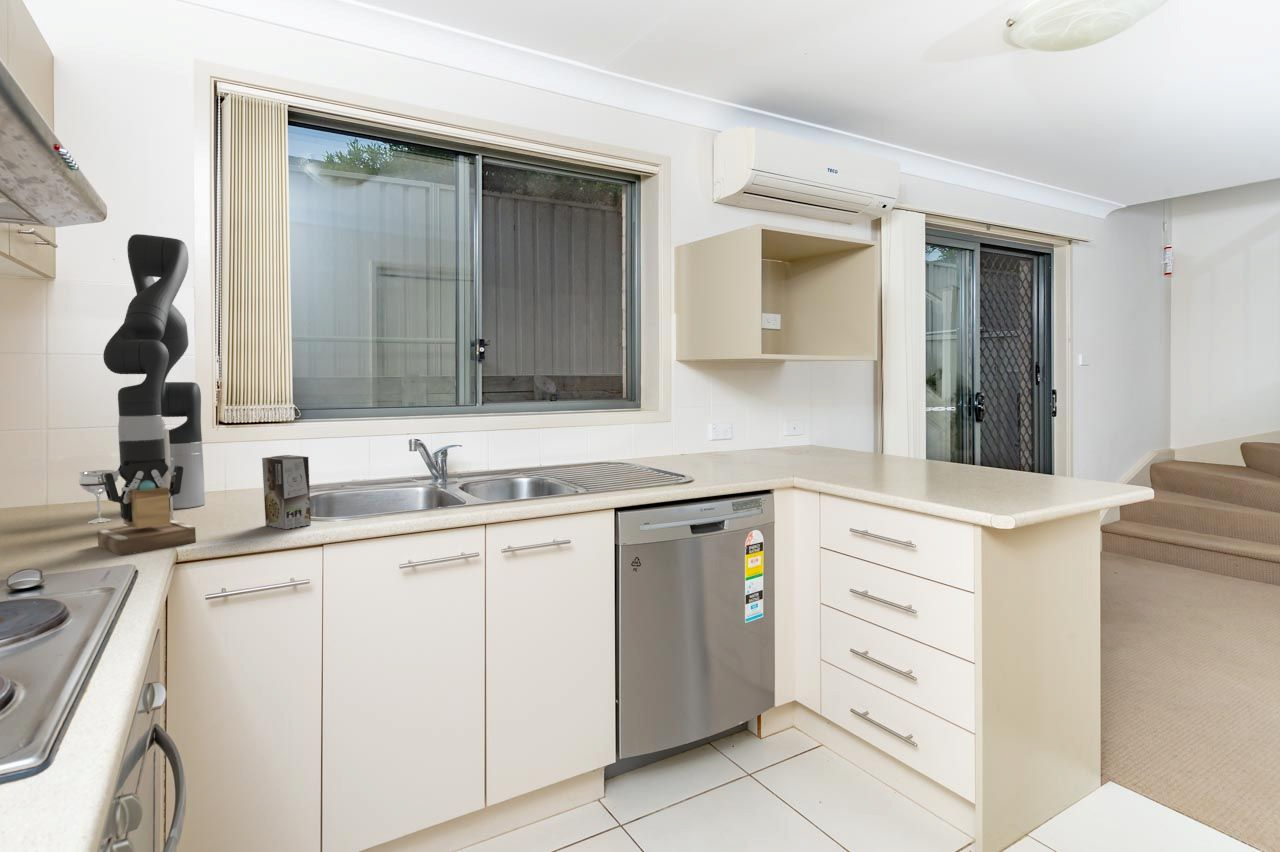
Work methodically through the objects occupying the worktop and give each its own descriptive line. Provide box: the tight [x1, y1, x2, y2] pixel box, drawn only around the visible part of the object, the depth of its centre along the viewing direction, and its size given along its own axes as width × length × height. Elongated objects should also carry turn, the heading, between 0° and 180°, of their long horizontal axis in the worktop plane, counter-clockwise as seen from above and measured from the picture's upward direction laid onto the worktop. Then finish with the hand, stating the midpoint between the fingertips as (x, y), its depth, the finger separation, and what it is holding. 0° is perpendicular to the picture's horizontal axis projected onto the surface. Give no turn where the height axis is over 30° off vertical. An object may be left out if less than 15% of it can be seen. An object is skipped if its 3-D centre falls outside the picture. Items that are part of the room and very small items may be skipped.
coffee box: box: [261, 454, 312, 530], centre depth 157 cm, size 9×6×16 cm
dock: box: [96, 519, 197, 556], centre depth 140 cm, size 13×13×3 cm
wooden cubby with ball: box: [121, 487, 170, 529], centre depth 140 cm, size 8×6×8 cm
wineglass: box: [78, 469, 115, 524], centre depth 163 cm, size 7×7×12 cm
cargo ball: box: [137, 480, 156, 491], centre depth 139 cm, size 3×3×3 cm
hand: (146, 518), depth 140 cm, fingers closed on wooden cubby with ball, 5 cm apart
